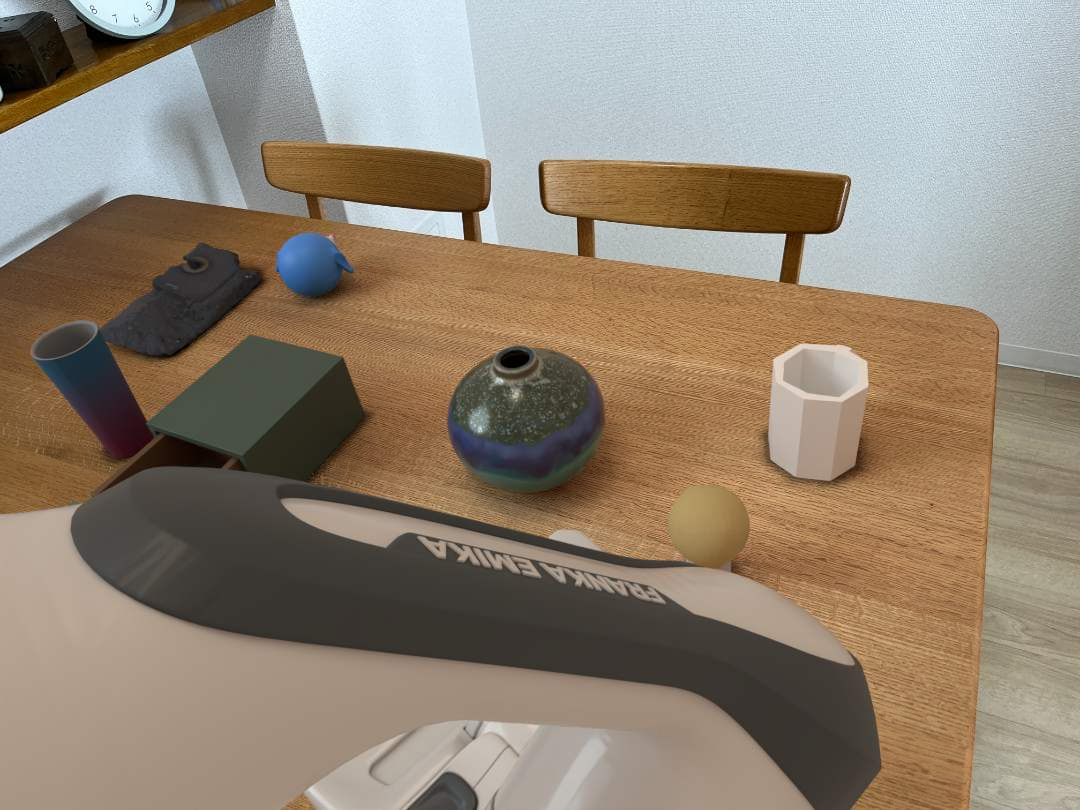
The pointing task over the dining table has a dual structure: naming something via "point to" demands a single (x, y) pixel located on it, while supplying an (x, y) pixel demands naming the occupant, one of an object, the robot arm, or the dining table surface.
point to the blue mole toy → (311, 264)
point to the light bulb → (709, 526)
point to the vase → (526, 419)
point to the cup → (93, 385)
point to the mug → (817, 410)
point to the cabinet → (267, 408)
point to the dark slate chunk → (182, 302)
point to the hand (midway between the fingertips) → (396, 596)
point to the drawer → (169, 460)
